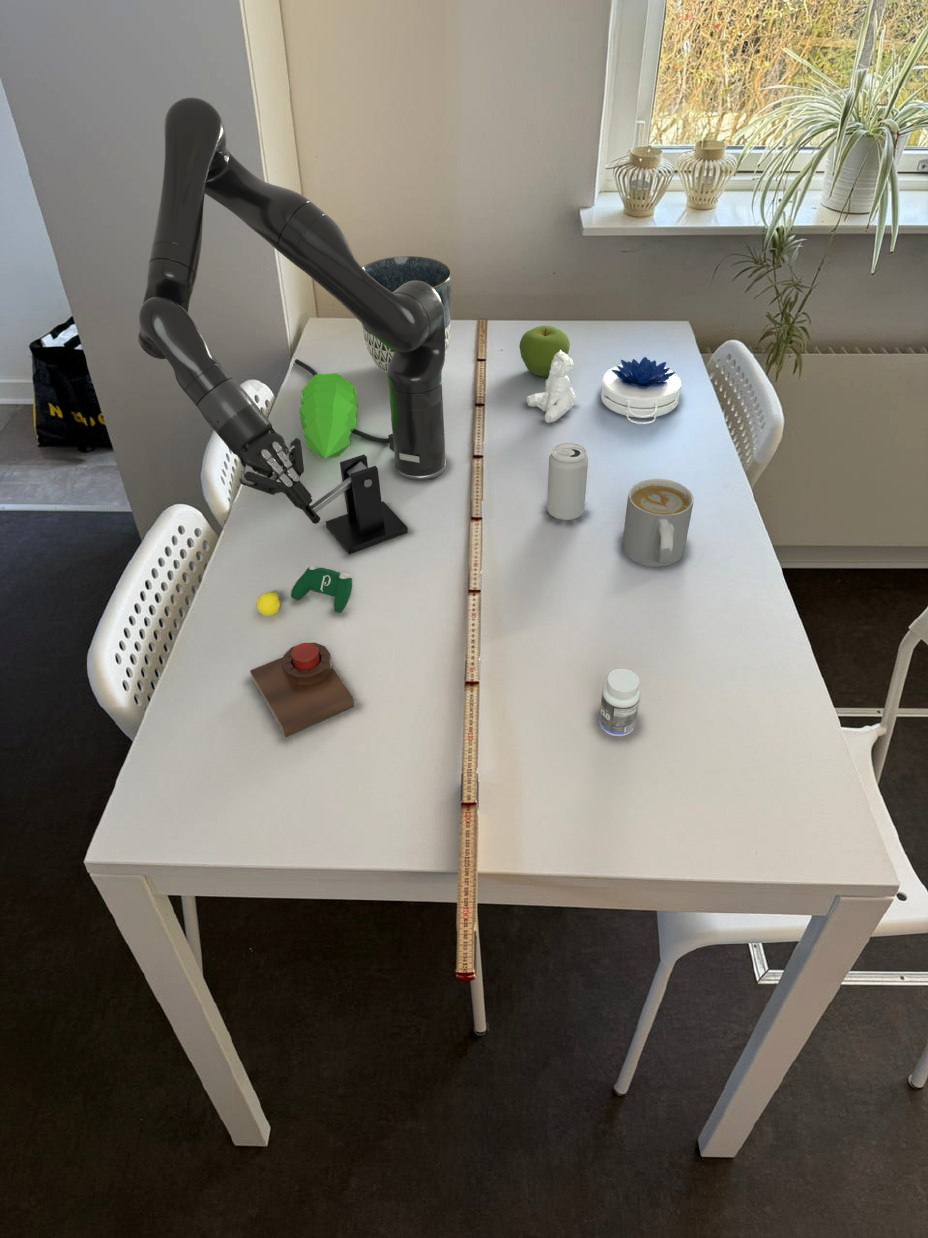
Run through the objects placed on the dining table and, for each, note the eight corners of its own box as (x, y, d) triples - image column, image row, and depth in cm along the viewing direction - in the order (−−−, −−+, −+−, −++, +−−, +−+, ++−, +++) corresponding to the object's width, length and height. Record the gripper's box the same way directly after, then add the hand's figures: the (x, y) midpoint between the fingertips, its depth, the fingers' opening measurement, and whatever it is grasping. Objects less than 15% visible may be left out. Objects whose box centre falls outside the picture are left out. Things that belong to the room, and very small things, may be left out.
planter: (454, 394, 179) (450, 292, 165) (361, 395, 180) (349, 294, 165) (455, 351, 193) (452, 254, 179) (369, 353, 194) (359, 256, 179)
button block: (252, 681, 120) (247, 660, 117) (320, 653, 124) (316, 633, 121) (285, 737, 112) (280, 717, 110) (356, 706, 116) (352, 686, 113)
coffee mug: (623, 526, 144) (630, 475, 137) (684, 532, 142) (693, 481, 136) (618, 577, 134) (625, 525, 128) (683, 584, 133) (693, 532, 126)
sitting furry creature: (524, 404, 175) (525, 348, 167) (560, 393, 178) (563, 338, 170) (548, 424, 169) (551, 367, 161) (585, 413, 172) (589, 357, 164)
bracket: (348, 554, 140) (339, 489, 132) (326, 527, 146) (315, 462, 137) (408, 532, 144) (402, 467, 136) (383, 506, 150) (376, 442, 141)
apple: (521, 360, 190) (522, 316, 183) (569, 362, 188) (571, 318, 182) (516, 383, 182) (517, 338, 175) (566, 386, 180) (569, 340, 174)
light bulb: (259, 622, 129) (249, 601, 127) (271, 605, 134) (262, 585, 133) (279, 617, 128) (270, 596, 126) (290, 600, 133) (281, 579, 132)
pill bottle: (595, 711, 114) (600, 667, 108) (630, 708, 114) (637, 664, 109) (602, 739, 111) (608, 695, 105) (638, 736, 111) (646, 692, 105)
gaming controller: (350, 615, 132) (361, 578, 132) (339, 613, 128) (350, 574, 128) (299, 600, 135) (310, 563, 135) (287, 597, 131) (298, 559, 131)
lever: (316, 527, 136) (308, 517, 134) (303, 511, 139) (296, 502, 137) (376, 481, 137) (370, 471, 135) (363, 467, 140) (356, 457, 138)
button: (289, 658, 118) (287, 649, 117) (313, 648, 119) (311, 639, 118) (299, 674, 116) (297, 665, 114) (324, 664, 117) (322, 654, 116)
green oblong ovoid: (341, 347, 169) (336, 419, 146) (369, 396, 176) (368, 472, 153) (291, 372, 171) (278, 446, 148) (321, 419, 178) (313, 497, 155)
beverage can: (582, 524, 145) (587, 463, 136) (544, 521, 146) (546, 460, 138) (585, 503, 149) (590, 442, 141) (548, 499, 150) (551, 439, 142)
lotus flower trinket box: (604, 348, 177) (602, 395, 163) (681, 351, 176) (685, 399, 161) (602, 379, 182) (599, 427, 168) (676, 382, 180) (680, 431, 166)
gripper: (212, 424, 126) (290, 518, 129) (273, 387, 134) (344, 475, 137) (195, 446, 131) (269, 535, 135) (254, 409, 140) (323, 494, 143)
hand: (307, 505), depth 136 cm, fingers closed
